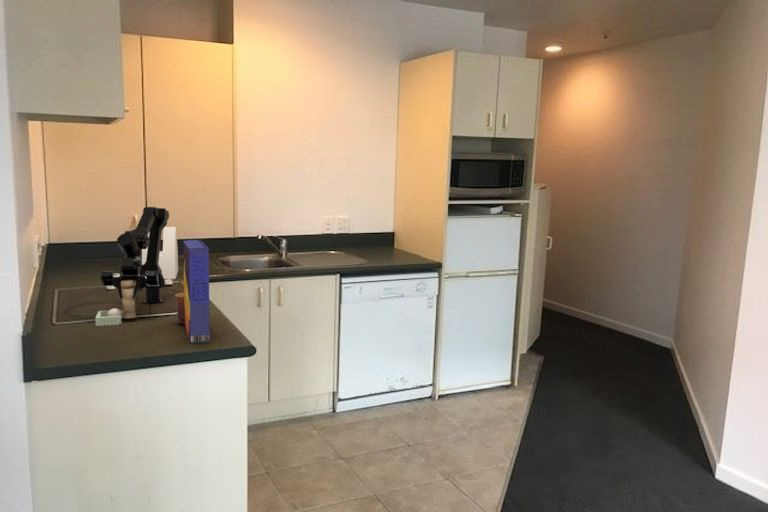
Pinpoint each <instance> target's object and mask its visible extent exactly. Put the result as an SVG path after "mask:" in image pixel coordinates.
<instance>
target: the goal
mask: <svg viewBox="0 0 768 512" xmlns="http://www.w3.org/2000/svg"><path fill="white" fill-rule="evenodd" d="M119 310H120V311H121V313H122V316H110V317H108V316H107V314H108V312H109V310H98V311H97V314H96V316H95V327H102V326H103V327H104V325H105V326H120V325H119V324H121V325H122V319H124V316H123V309H119Z"/></svg>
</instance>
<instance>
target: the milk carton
mask: <svg viewBox="0 0 768 512" xmlns="http://www.w3.org/2000/svg"><path fill="white" fill-rule="evenodd" d="M149 232H150V231H149ZM162 233H163V235H162V236H163V237H162V239H163V240H162V250H160V253H159V262H158V265H159V266H160V268H161V270H162V275H163V278H164V280H175V279H176V278H177V276H178V274H177V273H179V251H178V249H179V248H178V237H177V236H178V235H177V227H176V226H165V227H164V228H163V230H162ZM148 237H149V234H148ZM147 250H148V247H147V248H146V249H141V251H142V265H144V264H145V262H146V258H147Z"/></svg>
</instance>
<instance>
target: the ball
mask: <svg viewBox="0 0 768 512" xmlns="http://www.w3.org/2000/svg"><path fill="white" fill-rule="evenodd" d="M120 310H121V309H119V308H116V307H115V308H111V309H109V310H108V311H109V312H108V314H107V316H108V317H110V316H122V313H121V311H120Z"/></svg>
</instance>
